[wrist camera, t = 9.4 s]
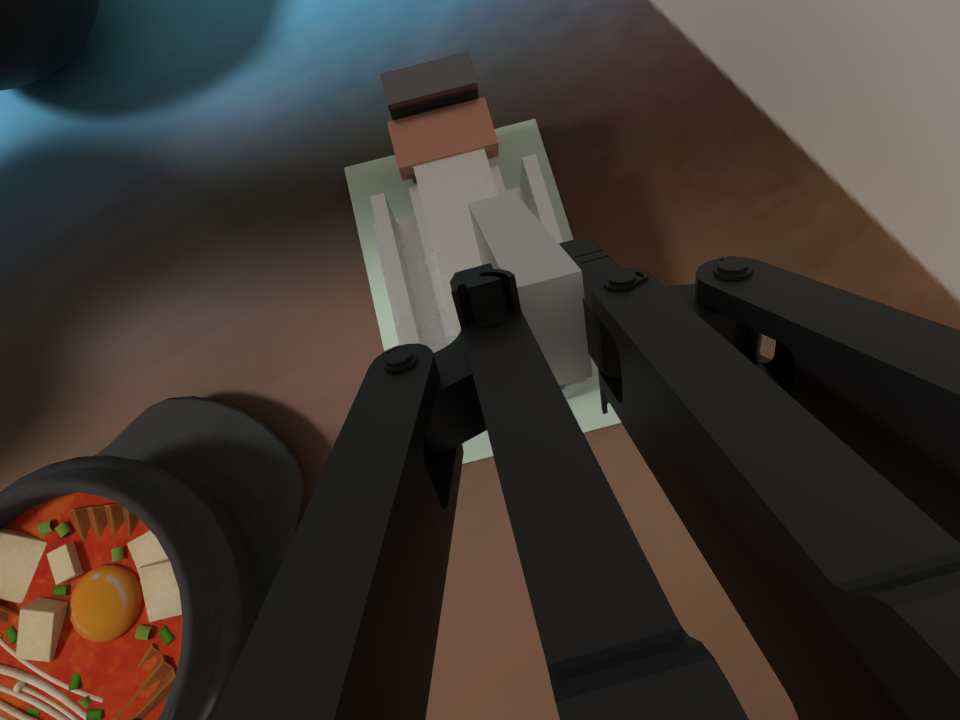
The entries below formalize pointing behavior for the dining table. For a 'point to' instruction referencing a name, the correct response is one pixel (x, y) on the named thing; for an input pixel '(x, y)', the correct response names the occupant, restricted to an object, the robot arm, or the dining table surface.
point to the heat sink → (408, 237)
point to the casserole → (143, 566)
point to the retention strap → (449, 178)
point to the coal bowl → (41, 37)
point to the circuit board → (388, 180)
